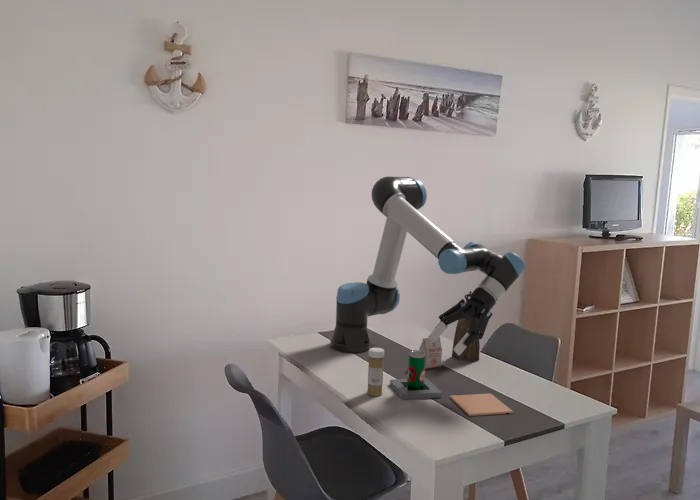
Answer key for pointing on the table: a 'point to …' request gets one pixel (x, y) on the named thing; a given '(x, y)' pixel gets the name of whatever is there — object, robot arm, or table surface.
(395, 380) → the socket block
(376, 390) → the sprinkles bottle
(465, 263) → the robot arm
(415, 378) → the soda can
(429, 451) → the table surface
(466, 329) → the statue
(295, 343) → the table surface
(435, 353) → the white red carton
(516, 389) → the table surface
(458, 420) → the table surface
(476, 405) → the terracotta tile
